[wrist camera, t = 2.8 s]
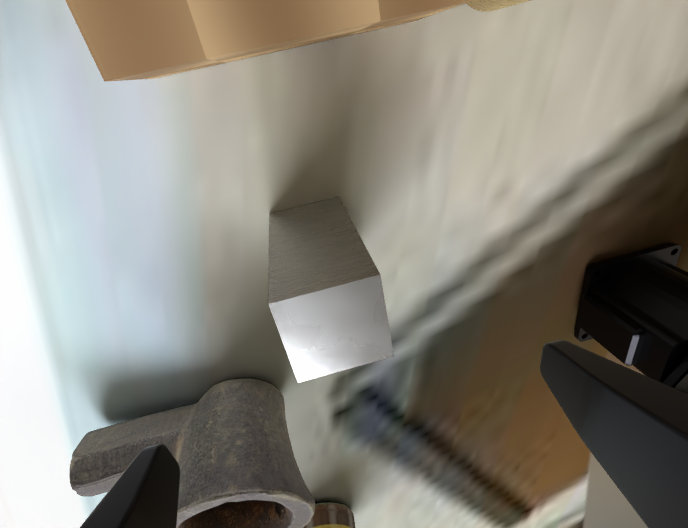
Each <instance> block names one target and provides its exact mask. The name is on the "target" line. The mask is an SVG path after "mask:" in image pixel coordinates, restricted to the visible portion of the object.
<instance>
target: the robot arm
mask: <svg viewBox="0 0 688 528" xmlns="http://www.w3.org/2000/svg"><path fill="white" fill-rule="evenodd" d="M681 249H682V247H681V246H680V245H678V244H675V243H668V244H664V245H661V246H657V247H653V248H650V249H646V250H642V251H639V252H635V253H631V254H628V255H624V256H620V257H617V258H613V259H609V260H606V261H602V262H599V263H595V264H592V265H591V266H589V267H588V268H587V270H586V273H585V279H584V284H583V290H582V295H581V301H580V306H579V312H578V317H577V322H576V328H575V333H574V336H575V337H576V338H577V339H578V340H579V341H586V340H589V339H593V338H594V339H595V340H596V341H597V342H598V343H600V344H601V345H602V346H603V347H604V348H606V349H607V350H608V351H609V352H610V353H612V354H613V355H614V356H615V357H616V358H618V359H619V360H620V361H621V362H623V363H624V364H626V365H627V366H631V365H633V366H635V367H636V368H637V369H638V370H639V371H641V372H642V373H643V374H644V375H642V374H640V373H638V372H635V371H633V370H631V369H629V368H626V367H624V366H622V365H619V364H617V363H615V362H613V361H611V360H608V359H606V358H604V357H601V356H599V355H597V354H595V353H592V352H590V351H588V350H586V349H583V348H581V347H579V346H577V345H574V344H572V343H570V342H567V341H565V340H556V341H552V342H548V343H546V344H545V345H544V346H543V351H542V357H541V364H540V371H541V374H542V376H543V378H544V380H545V382H546V383H547V385H548V386H549V388H550V390H551V391H552V393H553V394H554V396H555V398H556V399H557V401H558V403H559V404H560V406H561V407H562V409H563V411H564V412H565V414H566V416H567V417H568V419H569V420H570V422H571V424H572V425H573V427H574V428H575V430H576V431H577V433H578V435H579V436H580V438H581V439H582V440H583V442H584V443H585V444H586V446H587V447H588V449H589V450H590V451H591V453H592V454H593V455H594V457H595V458H596V459H597V460H598V462H599V463H600V464H601V466H602V467H603V468H604V470H605V471H606V472H607V474H608V475H609V476H610V478H611V479H612V480H613V482H614V483H615V484H616V486H617V487H618V488H619V490H620V491H621V492H622V494H623V495H624V496H625V498H626V499H627V500H628V501H629V503H630V504H631V505H632V507H633V508H634V509H635V511H636V512H637V513H638V515H639V516H640V517H641V519H642V520H643V521H644V523H645V524H646V525H647V527H648V528H688V272H686V271H684V270H682V269H680V268H678V267H676V265H677V262H678V259H679V256H680V253H681ZM179 485H180V467H179V464H178V462H177V461H176V459H175V458H174V456H173V455H172V453H171V452H170V451H169V449H168V448H167V446H166V445H164V444H156V445H153V446H149V447H146V448H144V449H143V450H142V451H141V452H140V453H139V454H138V455H137V456H136V458H135V459H134V460H133V461H132V463H131V464H130V465H129V466H128V468H127V469H126V470H125V471H124V473H123V474H122V475H121V476H120V478H119V479H118V480H117V482H116V483H115V484H114V485H113V487H112V488H111V489H110V490H109V492H108V493H107V494H106V495H105V497H104V498H103V499H102V500H101V502H100V503H99V504H98V505H97V507H96V508H95V509H94V510H93V512H92V513H91V514H90V515H89V517H88V518H87V519H86V521H85V522H84V523H83V524H82V526H81V527H80V528H176V525H177V512H178V499H179Z"/></svg>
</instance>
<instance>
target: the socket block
mask: <svg viewBox="0 0 688 528" xmlns="http://www.w3.org/2000/svg"><path fill="white" fill-rule="evenodd" d="M470 1H473V0H66V2H67V4H68V6H69V9H70V11H71V13H72V15H73V17H74V19H75V21H76V23H77V25H78V27H79V29H80V32H81V34H82V36H83V38H84V40H85V42H86V44H87V46H88V48H89V50H90V52H91V54H92V57H93V59H94V61H95V63H96V65H97V67H98V69H99V71H100V73H101V75H102V77H103V79H104V81H120V80H136V79H153V78H159V77H163V76H168V75H172V74H177V73H181V72H186V71H190V70H195V69H199V68H204V67H209V66H213V65H218V64H222V63H227V62H231V61H236V60H240V59H245V58H249V57H254V56H258V55H263V54H267V53H272V52H276V51H281V50H285V49H290V48H294V47H299V46H303V45H308V44H312V43H317V42H321V41H326V40H331V39H335V38H340V37H344V36H349V35H353V34H358V33H362V32H367V31H371V30H376V29H380V28H385V27H389V26H394V25H398V24H403V23H407V22H412V21H416V20H419V19H421V18H424V17H427V16H430V15H433V14H436V13H439V12H441V11H444V10H447V9H450V8H453V7H456V6H458V5H461V4H464V3H467V2H470Z"/></svg>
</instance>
